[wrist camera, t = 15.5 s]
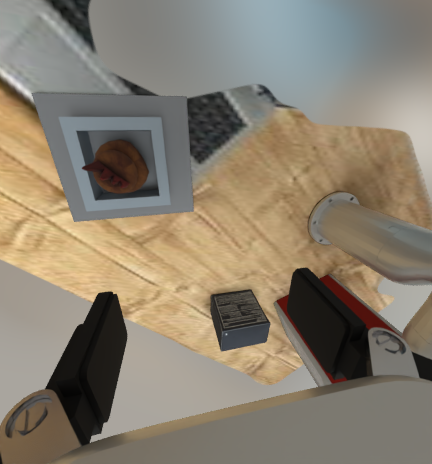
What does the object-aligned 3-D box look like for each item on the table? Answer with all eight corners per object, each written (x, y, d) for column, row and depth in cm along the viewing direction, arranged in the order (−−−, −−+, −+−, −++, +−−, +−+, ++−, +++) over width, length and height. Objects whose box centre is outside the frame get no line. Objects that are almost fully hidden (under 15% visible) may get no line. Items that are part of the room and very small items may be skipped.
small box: (209, 314, 52) (220, 353, 42) (210, 294, 49) (221, 331, 40) (249, 308, 54) (267, 344, 45) (252, 288, 51) (271, 322, 42)
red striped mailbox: (337, 310, 63) (443, 416, 39) (286, 336, 63) (362, 459, 39) (331, 272, 55) (458, 376, 31) (272, 302, 55) (356, 429, 31)
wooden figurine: (96, 151, 31) (46, 163, 18) (130, 132, 31) (105, 130, 18) (125, 190, 34) (101, 225, 21) (156, 173, 34) (151, 197, 21)
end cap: (185, 97, 31) (189, 90, 27) (193, 209, 39) (197, 220, 34) (35, 94, 27) (8, 85, 23) (76, 219, 35) (62, 233, 30)
